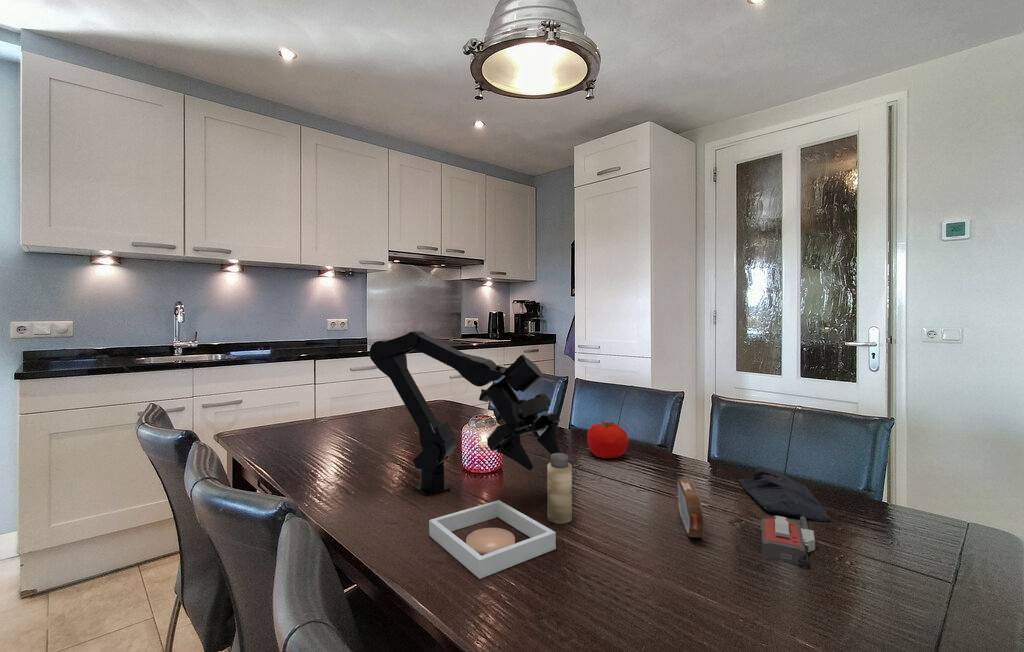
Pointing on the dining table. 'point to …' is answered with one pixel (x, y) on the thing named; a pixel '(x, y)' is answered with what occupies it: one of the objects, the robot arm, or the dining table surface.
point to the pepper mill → (559, 489)
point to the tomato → (607, 440)
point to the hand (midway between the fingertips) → (546, 463)
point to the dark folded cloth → (783, 495)
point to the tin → (690, 508)
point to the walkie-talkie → (786, 540)
